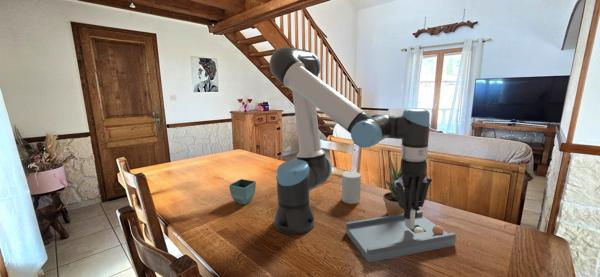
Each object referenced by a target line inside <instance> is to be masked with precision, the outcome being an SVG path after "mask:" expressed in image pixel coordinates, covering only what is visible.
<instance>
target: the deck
mask: <svg viewBox="0 0 600 277" xmlns="http://www.w3.org/2000/svg"><path fill="white" fill-rule="evenodd" d="M423 214H424V213H423V211H422V210H419V211H417V217H416V218H415V225H414V229H415V228H416V227H421V228H422V229H423V230H424V232H421V233H414V229H409V228H408V227H407V226H406V225H405V219H406V218H405V217H404V213H403V214H397V215H390V216H389V215H386V216H378V217H373V218H366V219H359V220H354V221H353V220H351V221H347V222H345V234H346V235H347V237H348V238H349V239H350V240H351V241H352V243H353V244H354V246H355V247H356V249H357V250H358V251H359V253H360V254H361V256H362V257H363V258H364V259H365V261H366V262H367V263H374V262H379V261H383V260H384V261H385V260H388V259H393V258H398V257H404V256H409V255H414V254H415V255H416V254H419V253H425V252H429V251H434V250H438V249H444V248H449V247H455V246H456V237H457V234H456V233H455V232H448V231H446V230H444V233H443V234H442V235H437V236H436V235H435V234H434V233H433V231H432V229H433V227H434V226H436V224H435V223H434V222H432V221H431V220H429V219H428V218H427V217H425V216H423Z"/></svg>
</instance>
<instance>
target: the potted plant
mask: <svg viewBox="0 0 600 277" xmlns="http://www.w3.org/2000/svg"><path fill="white" fill-rule="evenodd" d="M389 162H390V166H391V169H392V170H391V169H390V167H389V166H388V168H387V169H388V173H389V176H390V179H391V180H389V181H388V180H386V179H384V182H385V184H386V185H387V186H388V190H389V191H390V192H389V191H388V192H385V193H383V195H382V200H383V202H384V204H385V209H386V212H387V216H390V215H397V214H403V213H404V209H403V208H401V207H400V206H399V204H398V198H397V193H396V187H395V185H394V184H393V181H394V180H396V181H397V180H398V179H399V178H400V174H401V167H400V168H399V171H398V155H397V154H396V155H395V165H394V163H393V161H392V157H391V156H389ZM394 166H395V167H394ZM402 184H403V186H402V187H403V190H404V183H403V182H402Z"/></svg>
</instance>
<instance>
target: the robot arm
mask: <svg viewBox="0 0 600 277" xmlns="http://www.w3.org/2000/svg"><path fill="white" fill-rule="evenodd" d="M271 54H272V55H271V56H270V58H269V69H270V72H271V75H272V76H273V77H274V78H275V79H276V81H278V82H279V83H280V84H281V85H283V86H284V87H285V88H288V89H289V90H291V92H292V99H293V108H294V115H295V122H296V132H297V138H298V148H299V151H298V152H297V154H296V159H292V160H286V161H284V162H281V164H279V165H278V167H277V169H276V190H277V208H276V212H275V215H274V218H273V220H274V221H273V223H274V224H273V225H274V228H275V229H276V230H277V231H278V232H279V233H280V234H281V233H282V234H285V235H290V236H294V235H301V234H304V233H307V232H309V231H311V230H312V229H313V228H314V227H315V214H314V213H313V210H312V207H311V204H310V192H311V191H313V190H314V189H316V188H317V187H318V186H320V185H322V184H324V183H325V182H326V181H327V180H328V179H329V178H330V177H331V174H332V172H333V171H332V170H333V166H332V163H331V161H330V159H329V158H328V157H327V156H326V151H325V150H323V149H322V148H321V146H322V145H321V139H320V132H319V131H320V130H319V122H318V113H317V111H318V110H317V109H319V110H320V111H321V112H323V113H324V114H325V115H326V116H328V117H329V118H330V119H331V120H333V122H335V123H336V124H337V125H339V126H340V127H341V128H342V129H344V130H345V131H346V132H348V133H349V134H350V138H351V139H352V142H353V143H354V144H355V145H356V146H357V147H360V148H363V149H364V148H365V149H367V148H370V147H374V146H375V145H377V144H379V143H380V142H381V141H383V140H385V139H394V140H395V139H396V140H401V150H400V151H401V152H400V157H401V159H400V168H401V174H400V178H399V179H398V180H397V181H396V180H394V181H393V182H392V184H394V185H395V187H396V193H397V198H398V204H399V206H400V207H401V208H403V209H404V217H405V218H406V219H405V225H406V226H407V227H408V228H409V229H414V225H415V218H416V217H417V211H421V208H422V207H424V204H425V201H426V197H427V193H428V189H429V186H430V185H431V183H432V181H433V180H432V178H431V177H428V176H426V172H427V167H428V166H427V163H428V161H427V158H428V150H429V149H428V148H429V136H430V127H431V124H430V119H431V118H430V117H431V116H430V115H431V114H430V111H429V110H428V109H422V108H406V109H404V110H403V112H402V114H401V115H393V114H392V115H391V114H390V115H389V114H378V113H375V114H368V113H366V112H365V111H364V110H362V109H361V108H360V107H359V106H357V105H356V104H354V103H353V102H351V101H350V100H349V99H347V98H346V97H344V96H343V95H342V94H341V93H339V92H338V91H337V90H335V89H334V88H332V87H331V86H329V85H328V84H327V83H325V82H324V81H323V80H321V79H320V78H318V76H319V74H320V73H321V67H322V66H321V62H320V60H319V57H318V56H317V55H316V54H315V53H314V52H312V51H309V50H307V49H301V48H294V47H290V46H283V47H279V48H278V49H276V50H274V52H273V53H271ZM402 182H403V184H404V187H402V186H403V184H402ZM403 189H404V190H403Z"/></svg>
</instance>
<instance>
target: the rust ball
mask: <svg viewBox="0 0 600 277" xmlns="http://www.w3.org/2000/svg"><path fill="white" fill-rule="evenodd" d="M435 225H436V224H435ZM432 231H433V233H434V234H435V235H436V236H437V235H442V234H443V233H444V231H445V230H444V228H443V227H442V226H441V225H436V226H434V227H433V229H432Z"/></svg>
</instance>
